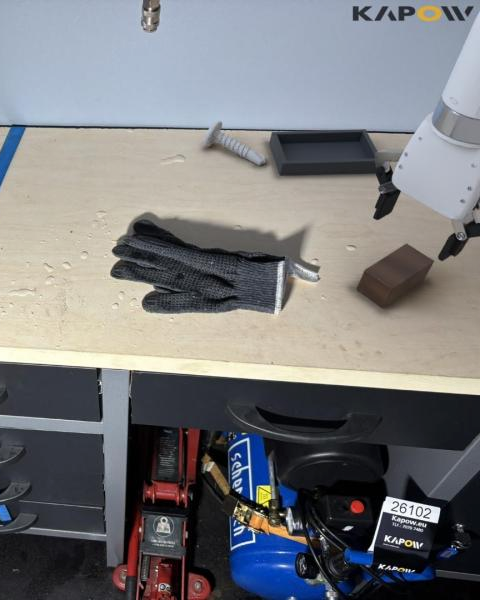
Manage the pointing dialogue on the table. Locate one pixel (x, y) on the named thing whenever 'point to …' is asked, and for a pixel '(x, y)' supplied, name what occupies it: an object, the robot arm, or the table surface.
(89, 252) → the table surface
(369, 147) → the tray
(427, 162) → the robot arm
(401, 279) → the block
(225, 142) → the screw
